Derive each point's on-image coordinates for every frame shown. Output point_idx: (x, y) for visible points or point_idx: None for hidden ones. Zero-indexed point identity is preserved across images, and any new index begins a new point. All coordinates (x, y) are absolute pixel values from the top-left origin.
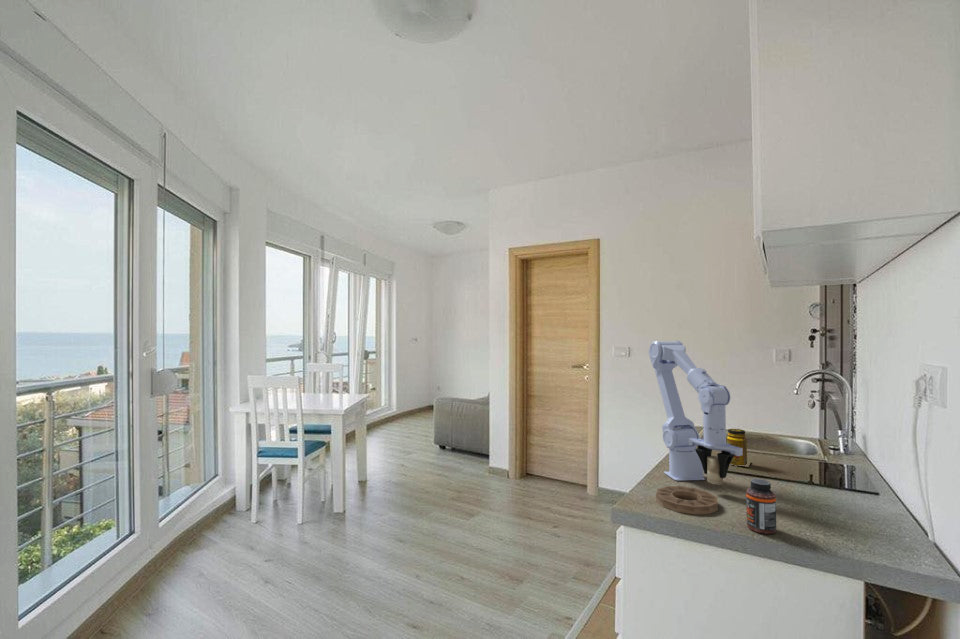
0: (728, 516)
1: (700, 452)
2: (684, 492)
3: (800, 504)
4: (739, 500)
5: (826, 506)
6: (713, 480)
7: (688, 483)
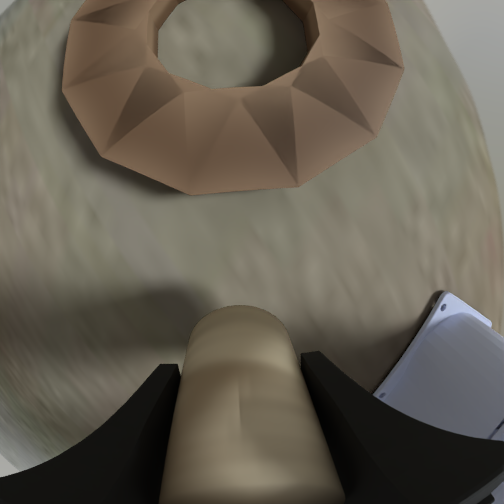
0: (33, 94)
1: (443, 484)
2: (291, 72)
3: (51, 426)
4: (117, 325)
5: (39, 444)
6: (218, 322)
7: (398, 319)
